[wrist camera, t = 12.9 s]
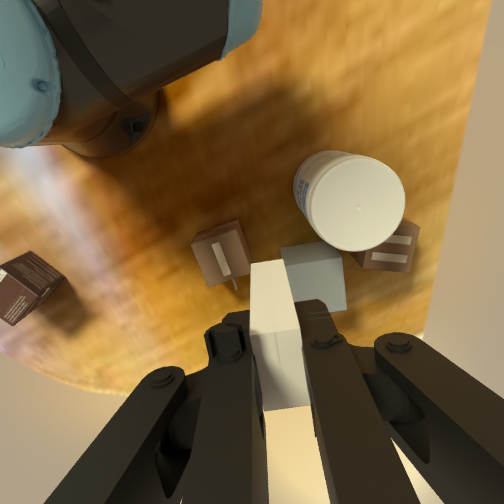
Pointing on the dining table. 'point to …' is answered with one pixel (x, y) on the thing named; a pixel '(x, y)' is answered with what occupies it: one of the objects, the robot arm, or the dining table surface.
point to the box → (25, 286)
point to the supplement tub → (349, 199)
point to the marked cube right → (392, 250)
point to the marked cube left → (222, 253)
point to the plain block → (315, 274)
